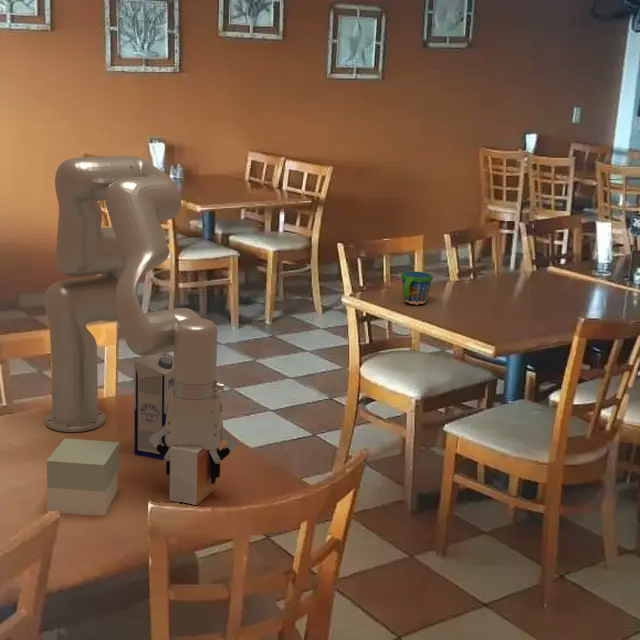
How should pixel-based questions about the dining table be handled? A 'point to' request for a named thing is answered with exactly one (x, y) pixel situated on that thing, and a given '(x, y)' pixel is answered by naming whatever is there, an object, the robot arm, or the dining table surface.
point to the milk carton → (151, 400)
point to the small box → (190, 474)
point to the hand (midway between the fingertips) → (193, 478)
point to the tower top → (83, 465)
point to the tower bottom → (82, 500)
